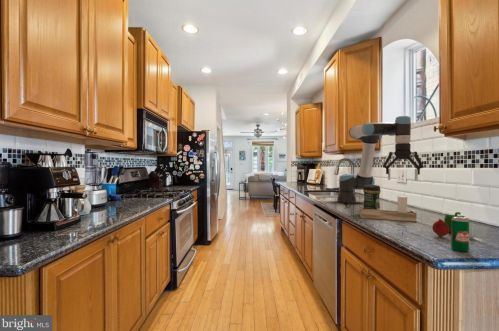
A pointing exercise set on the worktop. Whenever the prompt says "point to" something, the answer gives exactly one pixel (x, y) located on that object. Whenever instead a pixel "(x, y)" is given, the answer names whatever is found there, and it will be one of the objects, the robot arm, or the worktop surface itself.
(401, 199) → the slider
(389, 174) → the robot arm
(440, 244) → the worktop surface
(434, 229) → the onion
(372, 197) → the coffee jar
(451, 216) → the bell pepper
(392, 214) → the track
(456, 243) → the soda can
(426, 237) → the worktop surface
